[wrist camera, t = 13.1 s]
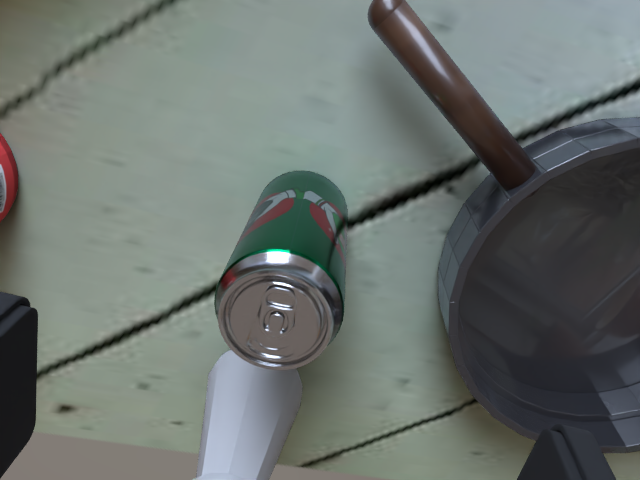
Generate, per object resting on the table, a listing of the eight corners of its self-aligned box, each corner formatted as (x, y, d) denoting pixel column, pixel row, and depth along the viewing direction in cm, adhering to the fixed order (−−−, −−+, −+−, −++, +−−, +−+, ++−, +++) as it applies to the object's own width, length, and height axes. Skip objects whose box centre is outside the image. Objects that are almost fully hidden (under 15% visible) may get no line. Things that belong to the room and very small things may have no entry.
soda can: (252, 242, 33) (200, 365, 22) (266, 159, 31) (215, 248, 20) (337, 259, 33) (328, 390, 22) (356, 177, 31) (357, 276, 20)
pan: (659, 39, 27) (713, 46, 23) (825, 289, 32) (895, 333, 28) (374, 259, 33) (376, 297, 29) (550, 445, 37) (574, 501, 33)
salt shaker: (246, 310, 35) (187, 475, 23) (323, 357, 36) (306, 537, 24) (200, 373, 37) (124, 554, 25) (274, 416, 38) (235, 608, 26)
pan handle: (390, -17, 25) (392, -18, 23) (543, 176, 28) (554, 187, 26) (359, 12, 25) (359, 13, 24) (512, 199, 28) (521, 211, 27)
